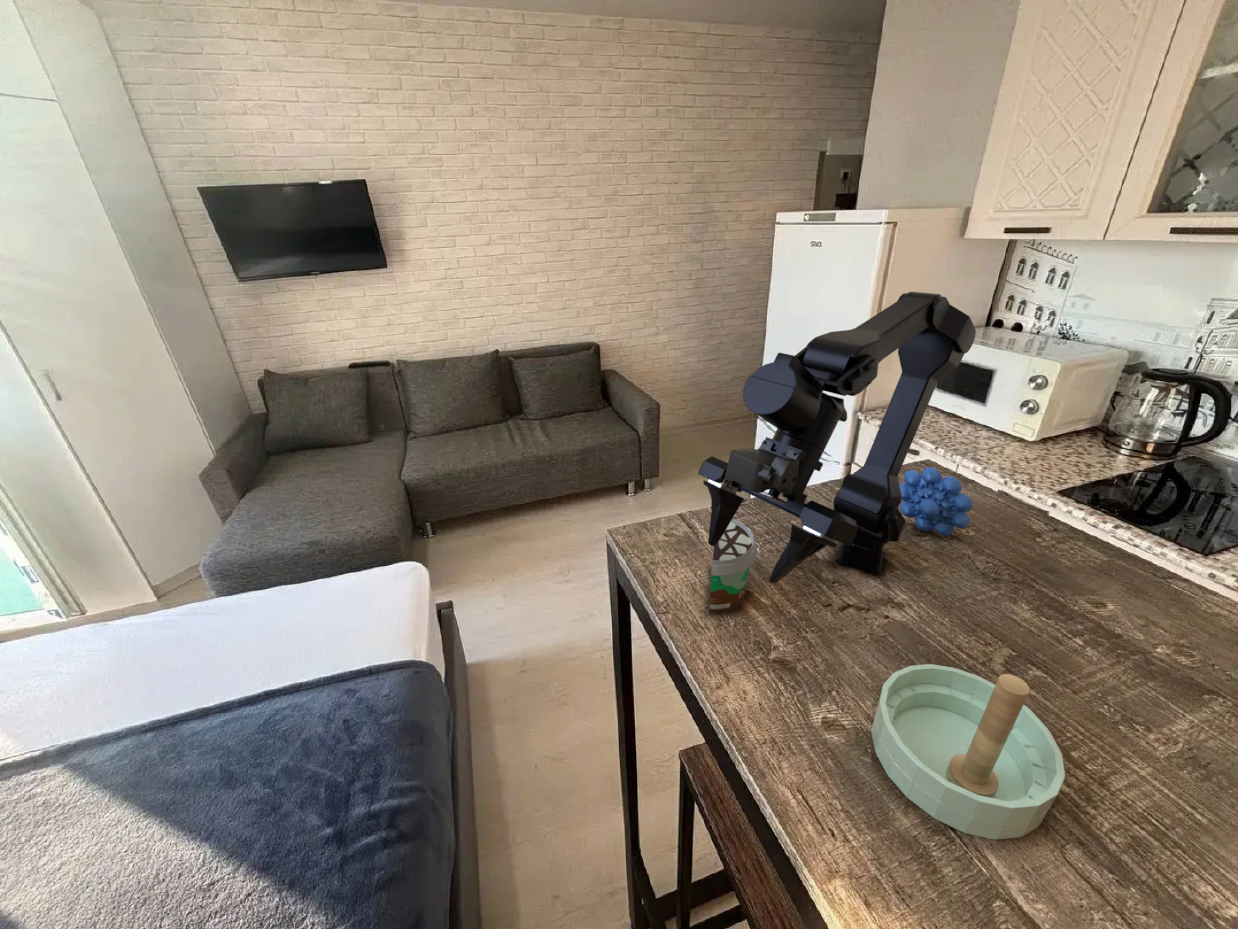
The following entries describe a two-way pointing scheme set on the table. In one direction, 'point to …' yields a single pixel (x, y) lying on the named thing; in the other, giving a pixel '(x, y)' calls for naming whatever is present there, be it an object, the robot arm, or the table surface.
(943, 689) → the bowl
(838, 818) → the table surface
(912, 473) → the grapes
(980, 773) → the pestle
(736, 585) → the food container
